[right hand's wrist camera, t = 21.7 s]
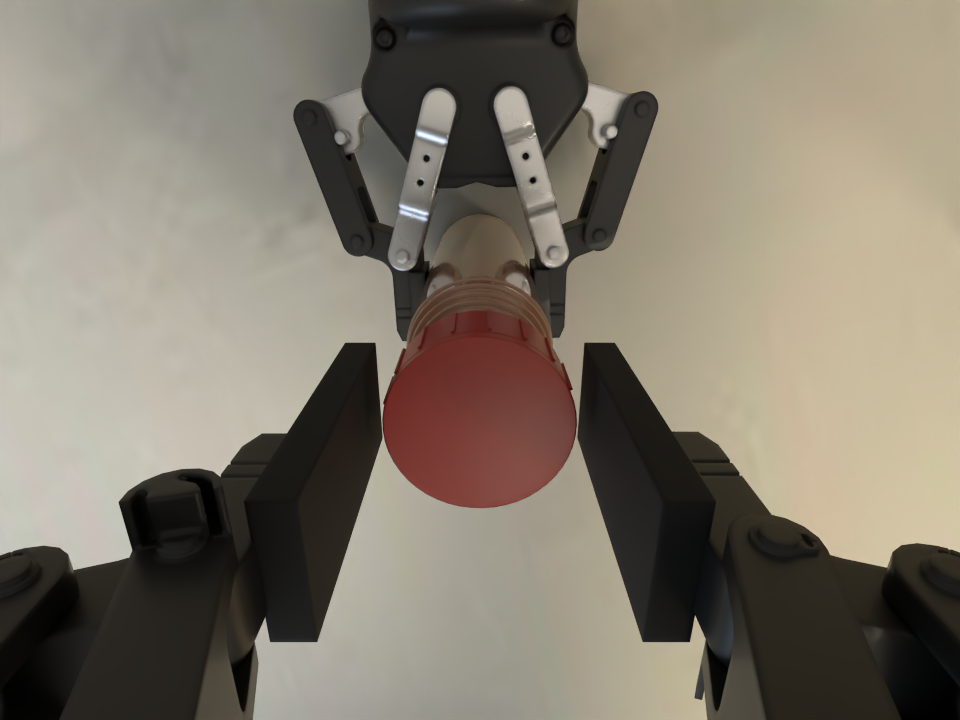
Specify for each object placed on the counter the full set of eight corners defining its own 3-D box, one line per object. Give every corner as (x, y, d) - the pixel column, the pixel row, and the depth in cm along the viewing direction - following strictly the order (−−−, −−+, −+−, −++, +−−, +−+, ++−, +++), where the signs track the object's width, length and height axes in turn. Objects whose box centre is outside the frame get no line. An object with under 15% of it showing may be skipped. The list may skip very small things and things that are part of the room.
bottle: (442, 300, 31) (398, 500, 14) (433, 217, 29) (369, 332, 13) (524, 294, 31) (577, 487, 14) (519, 210, 29) (572, 316, 12)
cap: (396, 298, 14) (383, 324, 12) (579, 315, 14) (595, 344, 12) (389, 457, 15) (376, 501, 13) (553, 471, 15) (563, 517, 14)
